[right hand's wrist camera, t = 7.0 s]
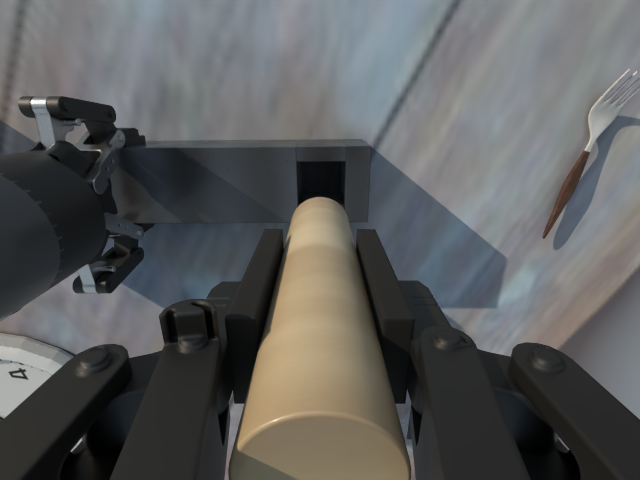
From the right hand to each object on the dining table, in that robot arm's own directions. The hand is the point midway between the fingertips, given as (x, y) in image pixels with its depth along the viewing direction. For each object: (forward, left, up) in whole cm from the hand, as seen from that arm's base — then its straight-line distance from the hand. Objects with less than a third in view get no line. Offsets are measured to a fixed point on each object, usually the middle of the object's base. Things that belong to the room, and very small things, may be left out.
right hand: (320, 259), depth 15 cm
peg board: (+8, 0, -21) cm, 22 cm away
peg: (0, 0, -5) cm, 5 cm away
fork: (-25, -1, -21) cm, 32 cm away
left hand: (+17, 0, -19) cm, 25 cm away
